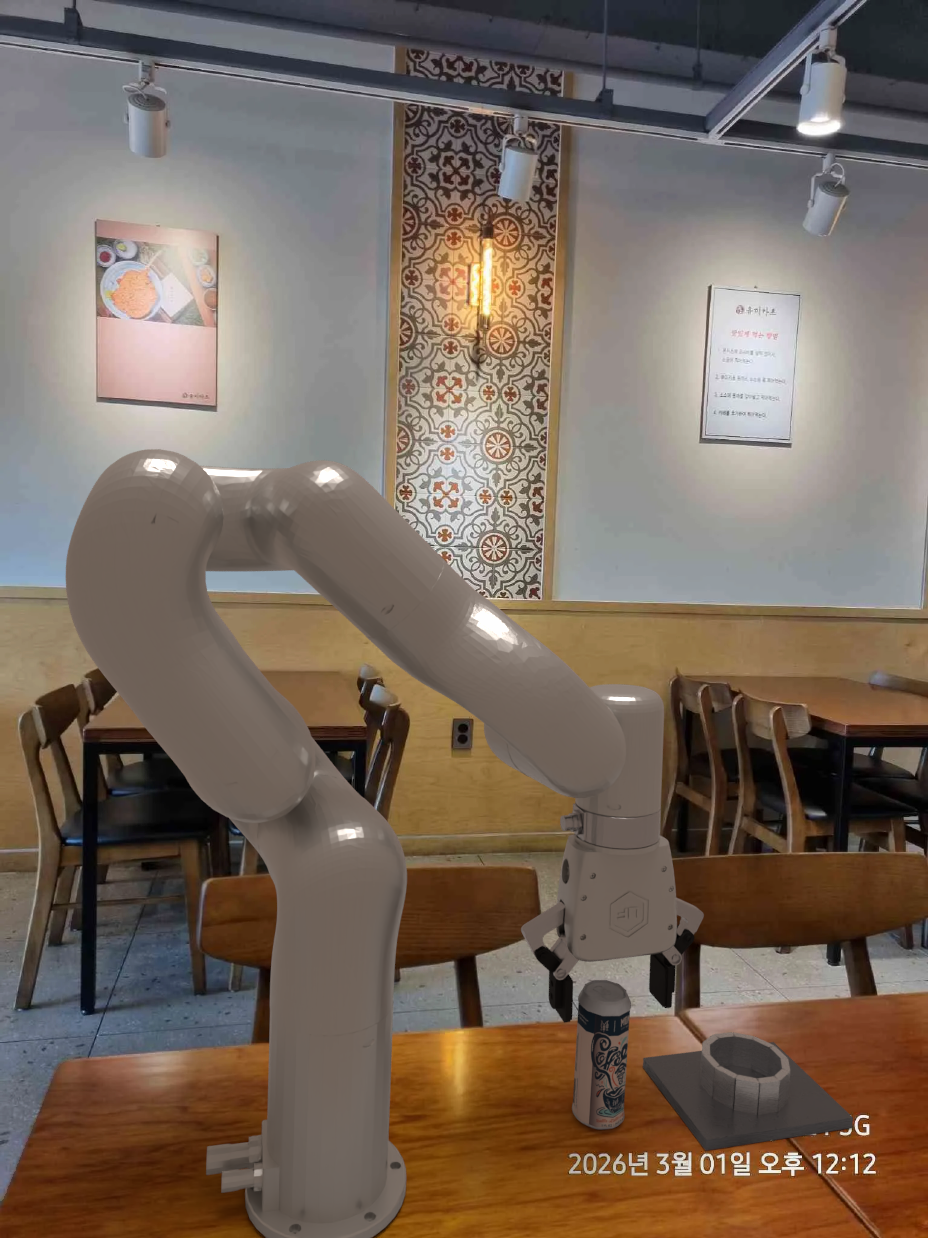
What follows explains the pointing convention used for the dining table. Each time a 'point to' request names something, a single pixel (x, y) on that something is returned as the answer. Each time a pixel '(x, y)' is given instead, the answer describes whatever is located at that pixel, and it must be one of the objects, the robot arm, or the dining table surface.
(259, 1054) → the dining table surface
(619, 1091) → the canned coffee drink
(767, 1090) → the can stand
